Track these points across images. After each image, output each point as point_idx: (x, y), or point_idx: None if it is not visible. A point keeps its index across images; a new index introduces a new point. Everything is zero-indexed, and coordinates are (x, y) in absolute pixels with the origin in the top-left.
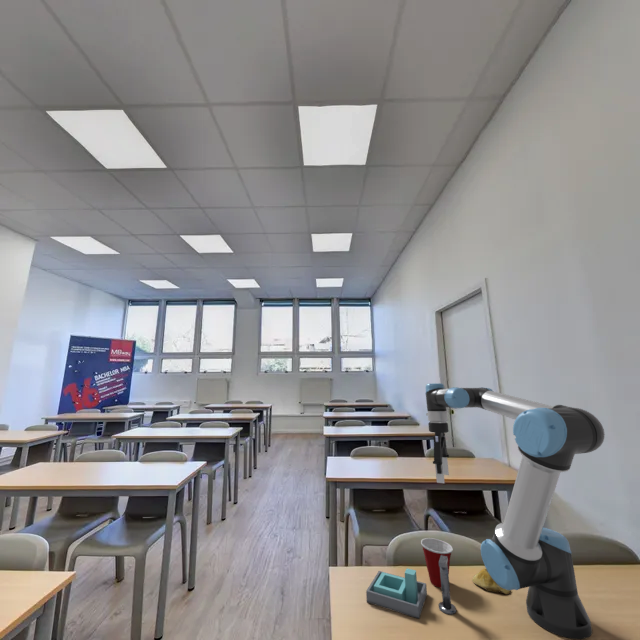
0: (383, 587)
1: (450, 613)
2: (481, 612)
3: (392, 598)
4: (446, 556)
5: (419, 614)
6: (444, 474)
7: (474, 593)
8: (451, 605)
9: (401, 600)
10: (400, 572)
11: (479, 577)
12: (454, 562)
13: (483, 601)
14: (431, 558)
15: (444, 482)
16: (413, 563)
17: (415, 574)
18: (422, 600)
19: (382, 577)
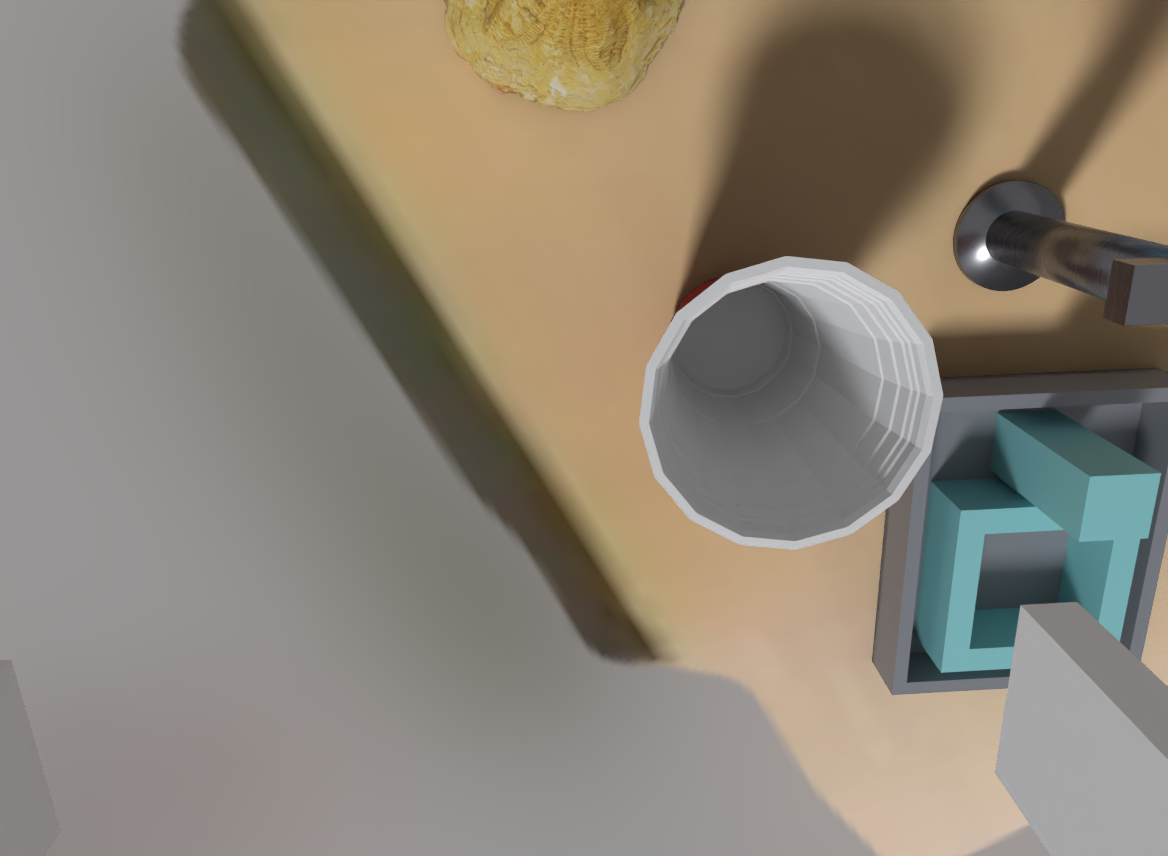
0: (1112, 611)
1: (1057, 209)
2: (961, 20)
3: (1164, 536)
4: (1138, 273)
5: (1147, 372)
6: (35, 765)
7: (750, 83)
8: (984, 214)
9: (1166, 487)
10: (717, 584)
11: (618, 45)
12: (362, 277)
13: (824, 13)
14: (881, 412)
15: (1041, 612)
16: (553, 543)
17: (1109, 469)
18: (1056, 383)
19: (1005, 650)
